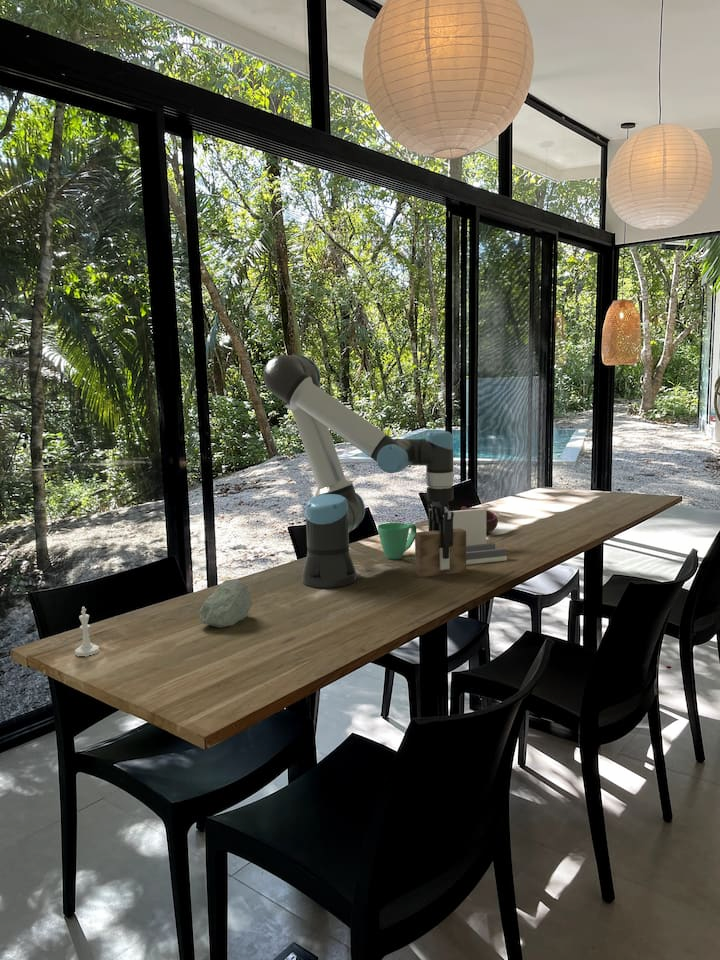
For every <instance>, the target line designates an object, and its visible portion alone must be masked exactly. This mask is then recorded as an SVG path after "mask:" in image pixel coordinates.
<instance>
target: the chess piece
mask: <svg viewBox="0 0 720 960" xmlns="http://www.w3.org/2000/svg"><path fill="white" fill-rule="evenodd" d="M86 611H87V608H85V606H82V607H81V611H80V614H81V615H79V616H78V618H79V620H80V623H81V625H80V626H79V629H80V630H82V642H81V644H80V646H79V647H77V648H76V649H74V655H75V656H76V655H77V656H76V657H79V656H85V657H90V656H89V655H91V656H93V654H94V655H96V654H98V653H99V652H100V647H99V646H98V645H96V644H93V643H92V642H91V639H90V634H89V629H90V628H91V625H90V624H88V622H89V620H90V619H89V618H90V614H87V613H86Z"/></svg>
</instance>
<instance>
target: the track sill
mask: <svg viewBox="0 0 720 960" xmlns="http://www.w3.org/2000/svg"><path fill="white" fill-rule="evenodd" d="M470 509H471V508H470ZM486 510H487V508H478V509H471V510H461V509H460V510H452V511H451V510H449V511H450V512H453V513H454V516H453V529H458V528H461V529H463V530H465V531H466V566H467V565H474V564H482V563H483V564H485V563H494V562H502V561H507V560H508V556H507V554H506V553H507V549H506V548H503V547H502V548H496V543H495V542H492V543H487V533H486Z"/></svg>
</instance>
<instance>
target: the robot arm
mask: <svg viewBox="0 0 720 960" xmlns="http://www.w3.org/2000/svg"><path fill="white" fill-rule="evenodd" d="M262 377H263V381H264V384H265V387H266V388H267V389H268V391H269V392H270V393H271V394H272V395H273V396H275V397H276V398H278V399H279V400H281V401H282V403H283V405H284V408H286V409H288V410H290V411H291V412H292V416H293V418H294V421H295V422H294V423H295V425H296V428H297V429H298V433H299V436H300V440H301V442H302V445H303V448H304V451H305V453H306V456H307V460H308V462H309V466H310V467H311V468H310V469H311V472H312V474H313V477H314V480H315V482H316V486H317V490H316V492H315V494H314V496H313V497H311V498H310V499H308V500H307V501H306V504H305V512H304V516H305V527H306V531H305V532H306V547H307V550H306V551H307V552H306V558H305V561H304V565H303V569H302V573H301V581H302V584H304V585H306V586H308V587H312V588H323V589H324V588H325V589H326V588H328V589H329V588H339V587H345V586H348V585H351V584H352V583H355V582H356V581H357V571H356V568H355V565H354V563H353V560H352V557H351V554H350V539H349V538H350V537H349V534H350V532H352V531H354V530H355V529H357V528H358V527H359V525H361V523H362V521H363V519H364V517H365V514H366V506H365V502H364V500H363V498H362V497H361V495H359V493H357V492H356V490H355V487H354V483H353V482H352V481H350V480H349V479H347V478H346V476H345V473H344V470H343V467H342V465H341V461H340V458H339V456H338V453H337V449H336V446H335V442H334V440H333V437H332V434H331V432H330V431H332V432H333V433H335V434H336V435H337V436H340V438H342V439H343V440H345V441H346V442H347V443H349V444H351V445H352V446H353V447H355V448H356V449H358V450H359V451H361V452H362V453H363V454H364V455H366V456H368V457H369V458H371V459H372V460H373V461H374V462H376V464H377V465H378V467H379V469H380V470H381V471H383V472H384V473H387V474H395V473H399V472H402V471H403V470H404V469H405V468H407V467H408V466H409V467H410V466H426V472H425V473H426V476H425V478H426V481H425V483H426V486H428V487H427V488H426V500H427V501H428V502H431V504H428V505H427V510H428V511H427V513H428V531H437V530H439V531H440V541H441V546H439V548H440V570H445V569H450V552H449V547H450V546H453V516H454V513H453V512H450V511H451V510H450V505H449V502H451V501H453V500H454V493H455V492H454V491H455V490H454V487H453V485H454V477H455V474H454V449H455V448H454V439H453V434H452V433H451V432H450V431H446V430H445V431H443V430H442V431H441V430H439V431H434V430H433V431H428V432H426V434H425V438H399V437H398V438H392V437H391V436H389V435H387V433H385V432H383V431H382V430H380V429H379V428H378V427H377V426H375V425H373V424H372V423H371V422H369V421H368V420H367V419H365V418H363V417H362V416H360V415H359V414H357V413H356V412H355V411H353V410H352V409H350V408H349V406H346V405H345V404H343V402H340V401H339V400H338V399H336V398H335V397H333V396H332V395H330V394H329V393H328V392H326V391H325V390H323V389H322V388H321V386H320V385H321V384H320V383H321V380H322V379H321V372H320V368H319V367H318V365H317V363H316V362H314V360H313V359H311V358H309V357H308V356H305V355H302V354H301V355H300V354H293V355H288V354H279V355H277V356H273V357H272V358H271V359H270V360H269V361H268V362H267V363H266V364H265V366H264V369H263V376H262Z"/></svg>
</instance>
